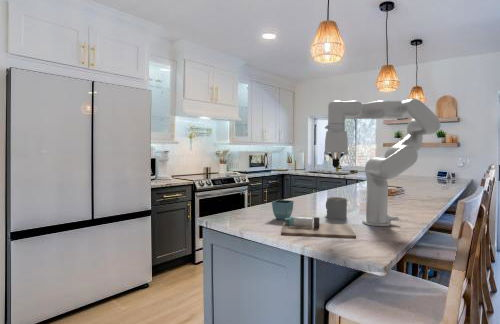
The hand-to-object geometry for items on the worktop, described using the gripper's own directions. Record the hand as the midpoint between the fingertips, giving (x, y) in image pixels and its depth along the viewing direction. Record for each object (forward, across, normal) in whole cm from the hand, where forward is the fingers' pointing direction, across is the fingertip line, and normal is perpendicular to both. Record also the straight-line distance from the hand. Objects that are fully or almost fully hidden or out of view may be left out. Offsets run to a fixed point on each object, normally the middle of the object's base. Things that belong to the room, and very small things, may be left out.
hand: (335, 167), depth 147 cm
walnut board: (+27, -9, -12) cm, 31 cm away
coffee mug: (+27, +2, +18) cm, 33 cm away
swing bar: (+26, -16, -9) cm, 32 cm away
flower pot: (+27, -25, +9) cm, 38 cm away
